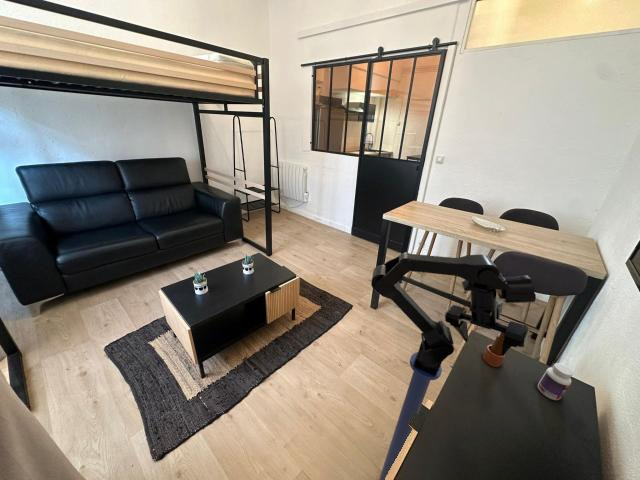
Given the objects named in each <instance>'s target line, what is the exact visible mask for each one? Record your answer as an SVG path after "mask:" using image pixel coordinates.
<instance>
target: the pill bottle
mask: <svg viewBox="0 0 640 480" xmlns="http://www.w3.org/2000/svg"><path fill="white" fill-rule="evenodd" d="M573 372H574V371H572V369H571V368H570V367H569V366H566V365H565V364H563V363H560V362H555V363H554V364H553V365H552V366H551V367H548V368H547V369H546V370H545V371H544V373H543V375H542V377H541V378H540V380H539V381H538V383H537V389H538V390H539V392H540V393H541V394H542V395H543V396H545V397H546V398H548V399H550V400H552V401H559V400H561V399H562V397H563V396H564V394H566V391H567V390H568V389H569V387H570V386H571V385H572V379H571V378H572V377H573V374H574V373H573Z"/></svg>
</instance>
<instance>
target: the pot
mask: <svg viewBox="0 0 640 480" xmlns="http://www.w3.org/2000/svg"><path fill="white" fill-rule="evenodd" d="M492 345H493V344H488V345H487V346H486V348H485V351H484V353H483V355H482V360H483V361H484V362H485V363H486V364H487V365H489V366H491V367H494V368H499V367H500V366H501V365H502V363H503V361H504V359H505V357H506V354H505V355H504V356H502V352H501V354H500V356H498V355H495V354H494V353H492V352H491V351H490V350H491V348H492Z"/></svg>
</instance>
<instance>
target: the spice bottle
mask: <svg viewBox="0 0 640 480" xmlns="http://www.w3.org/2000/svg"><path fill="white" fill-rule="evenodd" d="M504 334H505V333H503V332H500V333H497V335H496V336H495V339H494V341H493V344H491V345H492V348H491V350H490V351H491V352H492V353H494V354H495V355H498V356H500V354H501V352H502V345H503V341H504Z"/></svg>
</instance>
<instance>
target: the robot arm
mask: <svg viewBox="0 0 640 480" xmlns="http://www.w3.org/2000/svg"><path fill="white" fill-rule="evenodd" d="M410 272H415V273H424V274H433V275H434V274H435V275H443V276H452V277H453V276H454V277H458V278H460V279H463V281H461V285H462V288H463V290H464V292H470V306H469V311H470V313H471V314H467V313H468V311H467V308H466V307H463V306H460V305H455V304H452V305H451V306H450V307H449V308H448V309H447V311H446V312H445V314H444V321H445V322H446V323H448V324H449V325H450V326H451V327H453V328H454V329H455V330H456V332H458V334H459V335H460V336H461V338H462V339H463V341H464V343H468V341H469V331H468V330H469V329H468V324H470V325H474V326H478V327H481V328H483V329H487V330H494V331H496V332H500V333H501V332H503V333H505V334H504V341H503V345H502V356H504V355H505V356H506V353H507V352H508V350H510V349H511V348H512V347H513V348H525V345H526V343H527V340H528V338H529V336H530V327H528V326H527V324H526V325H525V324H521V323H518V322H515V321H512V320H510V321H509V323H508V324H505V323H501V322H498V321H499V320H500V318H501V314H502V313H503V305H504V303H505V304H522V303H523V304H525V303H535V302H536V300H537V299H536V298H537V295H536V292H535V288H534V285H533V284H532V283H533V282H532V279H531V277H530V276H529V275H528V274H525V275H518V276H517V275H516V276H503V274H502V273H501V272H500V270H499V268H498V267H497V265H496V264H495V263H494V262H493V260H492V259H491V258H490V257H489V256H488V255H486V254H467V255H463V256H460V257H452V256H451V257H450V256H439V255H428V254H416V253H409V252H403V253H400V254H399V255H398V256H395V257H393V258H391V259H389V260H387V261H386V262H384V263H383V264H380V265H377V266H375V267H374V268H373V271H372V276H371V283H370V285H371V288H372V289H373V290H374V291H375V292H376V293H377V294H379V295H380V296H381V297H383V298H385V299H388V300H391V301H392V303H394V304H395V305H396V307H398V309H399V310H400V311H401V312H403V314H404V315H405V316H406V317H407V318H408V319H409V320H410V321H411V322H412V323H413V324H414V325H415V327H417V328H418V330H420V331H421V333H420V335H421V336H420V337H421V342H420V344H419V348H418V350H417V351H416V352H417V356H416V359H415V362H414V367H416V368H418V369H420V370H422V371H424V372H426V373H428V374H430V375H432V376H436V372H437V371H439V369H440V366H441V367H442V363H443V362H444V361H445V360H446V358H448V357H449V356H451V355H452V354H453V353H454V352H455V346H454V344H455V343H454V340H453V335H452V332H451V329H450V326H447V325H446V324H445V323H444V321H443V320H442V319H439V320H438V321H435V320H433V319H432V318H431V317H430V316H429V315H428V314H427V313H426V312H425V311H424V309H423V308H422V307H421V306H420V305H419V304H418V302H416V301H415V300H414V299H413V298H412V297H411V295H409V293H407V291H406V290H405V289H404V288H403V287H402V285H401V283H400V280H402V278H404V276H405V275H407V274H408V273H410ZM497 297H498V299H499V300H498V299H497ZM415 365H416V366H415Z"/></svg>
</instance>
